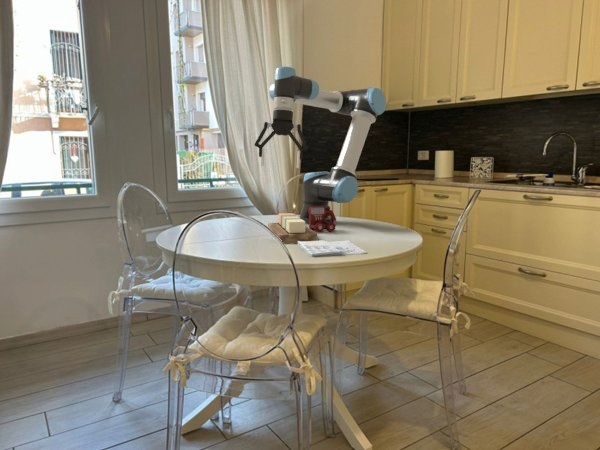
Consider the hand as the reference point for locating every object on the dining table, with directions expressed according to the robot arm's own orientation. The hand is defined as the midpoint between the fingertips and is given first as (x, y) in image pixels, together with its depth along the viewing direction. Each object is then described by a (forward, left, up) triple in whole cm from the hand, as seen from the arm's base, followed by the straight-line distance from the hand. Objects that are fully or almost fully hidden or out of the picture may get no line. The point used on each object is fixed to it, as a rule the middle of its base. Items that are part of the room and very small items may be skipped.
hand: (280, 167), depth 166 cm
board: (-4, +2, -26) cm, 27 cm away
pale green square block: (-4, +2, -23) cm, 24 cm away
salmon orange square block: (-4, -6, -23) cm, 24 cm away
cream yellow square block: (-4, +10, -23) cm, 26 cm away
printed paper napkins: (-13, +27, -27) cm, 41 cm away
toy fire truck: (-19, -6, -27) cm, 33 cm away
